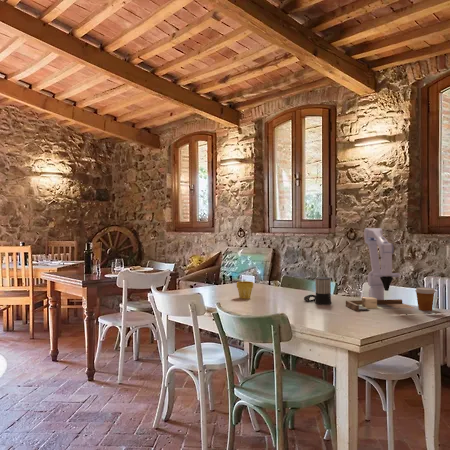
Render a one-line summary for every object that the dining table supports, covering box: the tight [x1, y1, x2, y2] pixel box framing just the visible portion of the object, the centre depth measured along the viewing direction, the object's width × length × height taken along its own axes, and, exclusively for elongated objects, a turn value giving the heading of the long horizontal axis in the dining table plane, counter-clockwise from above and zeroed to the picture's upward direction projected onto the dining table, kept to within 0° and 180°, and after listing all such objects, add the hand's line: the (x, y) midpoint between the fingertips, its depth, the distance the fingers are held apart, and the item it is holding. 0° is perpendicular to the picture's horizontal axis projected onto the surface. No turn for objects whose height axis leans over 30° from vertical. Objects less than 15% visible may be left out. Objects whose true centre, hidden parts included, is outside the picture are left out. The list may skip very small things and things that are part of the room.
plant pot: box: [236, 280, 254, 300], centre depth 281 cm, size 10×10×10 cm
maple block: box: [361, 296, 377, 308], centre depth 243 cm, size 6×6×4 cm
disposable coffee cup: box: [414, 286, 436, 312], centre depth 233 cm, size 10×10×12 cm
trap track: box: [345, 298, 415, 312], centre depth 244 cm, size 16×32×3 cm, turn 95°
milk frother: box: [303, 276, 332, 306], centre depth 262 cm, size 14×16×15 cm
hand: (386, 290), depth 245 cm, fingers closed
